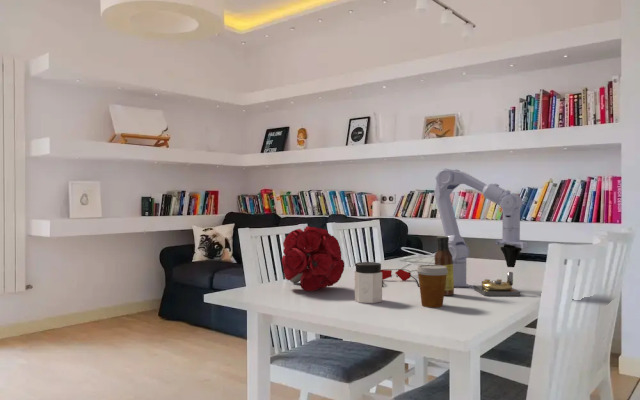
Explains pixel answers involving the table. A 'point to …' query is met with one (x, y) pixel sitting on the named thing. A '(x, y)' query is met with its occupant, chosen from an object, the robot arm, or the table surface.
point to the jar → (368, 282)
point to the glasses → (401, 273)
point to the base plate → (497, 292)
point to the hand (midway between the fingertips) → (510, 267)
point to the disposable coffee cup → (432, 284)
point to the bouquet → (312, 258)
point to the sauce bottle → (445, 262)
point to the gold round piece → (499, 283)
